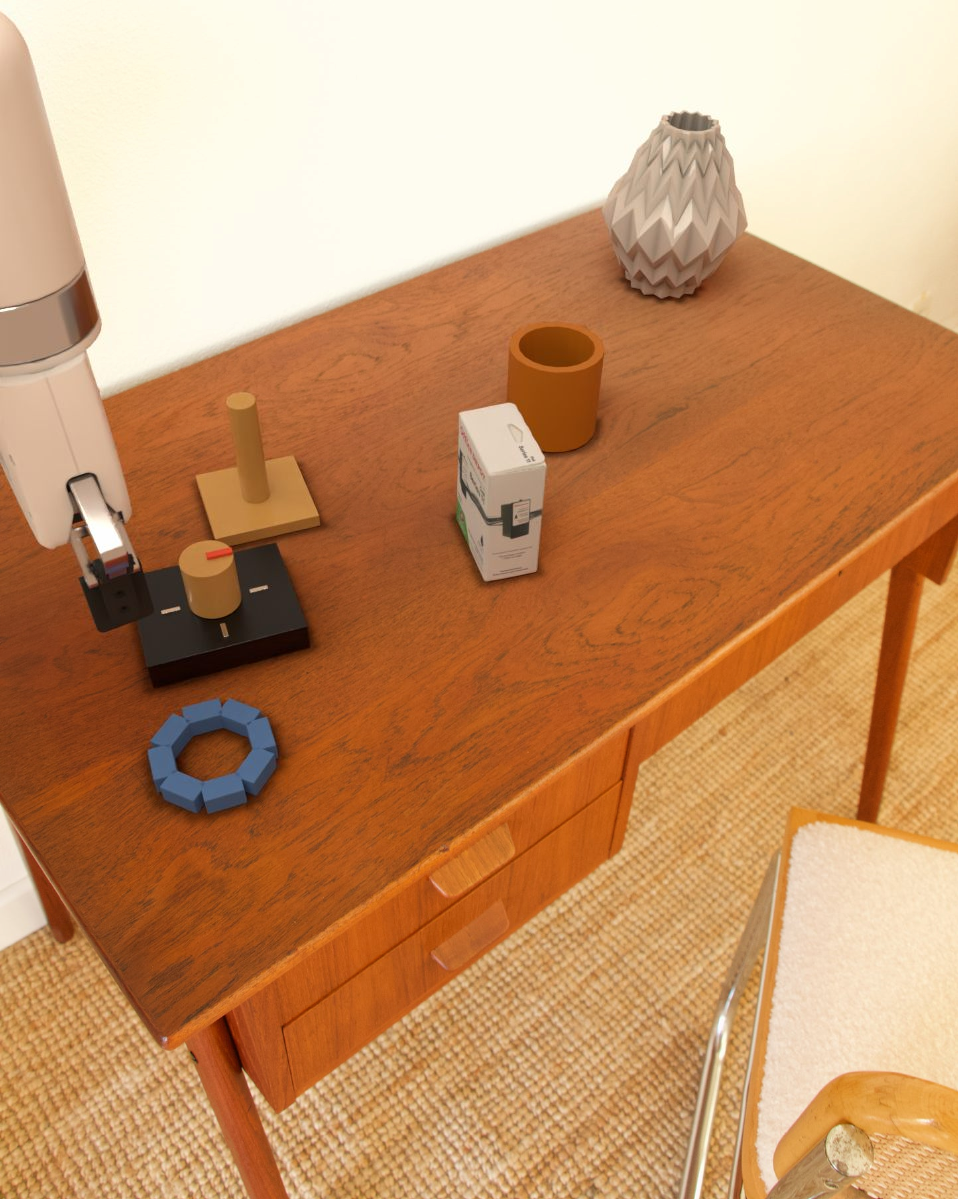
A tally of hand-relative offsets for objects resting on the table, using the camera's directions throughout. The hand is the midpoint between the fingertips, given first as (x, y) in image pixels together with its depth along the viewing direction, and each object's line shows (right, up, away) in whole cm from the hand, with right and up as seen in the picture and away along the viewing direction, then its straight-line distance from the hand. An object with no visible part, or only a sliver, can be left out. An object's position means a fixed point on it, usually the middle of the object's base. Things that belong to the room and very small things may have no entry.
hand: (98, 568), depth 60 cm
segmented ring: (+4, -13, +12) cm, 18 cm away
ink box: (+24, +3, +28) cm, 37 cm away
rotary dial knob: (+2, -2, +19) cm, 19 cm away
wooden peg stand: (+3, +7, +31) cm, 32 cm away
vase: (+44, +36, +61) cm, 84 cm away
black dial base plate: (+2, -4, +21) cm, 21 cm away
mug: (+30, +16, +42) cm, 54 cm away
